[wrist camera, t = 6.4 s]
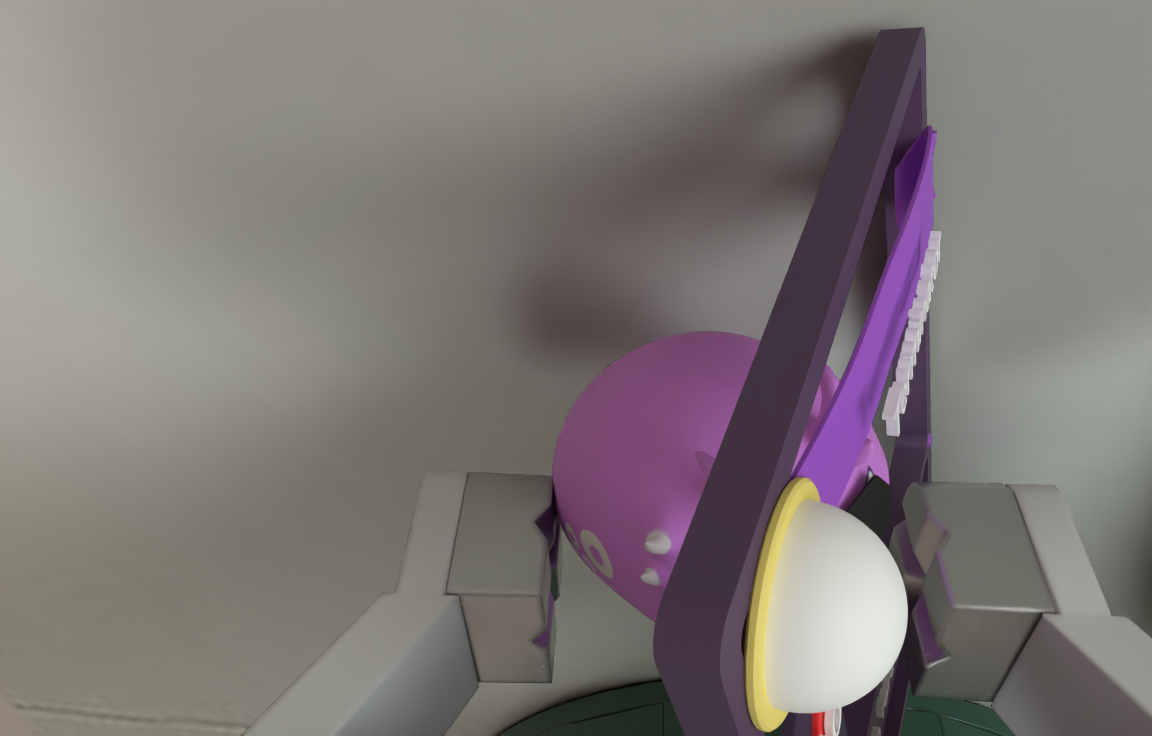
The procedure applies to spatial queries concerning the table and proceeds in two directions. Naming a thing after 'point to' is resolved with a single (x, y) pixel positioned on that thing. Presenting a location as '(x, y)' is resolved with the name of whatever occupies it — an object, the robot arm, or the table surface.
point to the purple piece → (778, 458)
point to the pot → (653, 732)
